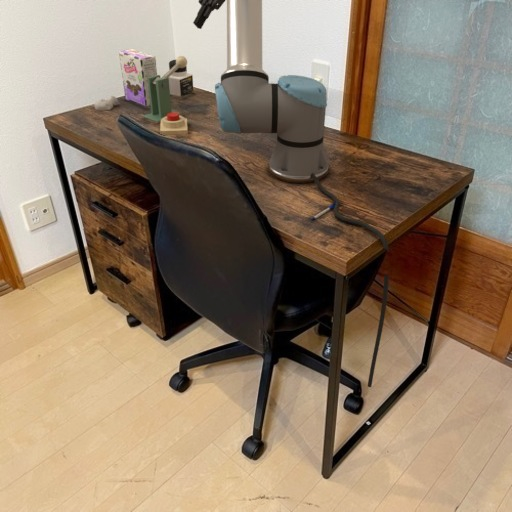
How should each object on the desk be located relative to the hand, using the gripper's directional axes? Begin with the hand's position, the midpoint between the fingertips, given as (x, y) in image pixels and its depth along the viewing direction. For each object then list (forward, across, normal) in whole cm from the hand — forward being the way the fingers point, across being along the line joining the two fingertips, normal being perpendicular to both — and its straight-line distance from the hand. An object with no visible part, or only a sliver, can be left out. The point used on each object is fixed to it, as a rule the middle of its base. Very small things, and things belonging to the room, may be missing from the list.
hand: (197, 25), depth 167 cm
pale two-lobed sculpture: (+36, +19, 0) cm, 40 cm away
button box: (+34, -12, -2) cm, 36 cm away
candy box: (+27, +17, -10) cm, 33 cm away
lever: (+18, 0, -1) cm, 18 cm away
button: (+31, -12, +1) cm, 34 cm away
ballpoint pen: (+41, -75, +5) cm, 86 cm away
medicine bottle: (+16, +14, -20) cm, 29 cm away
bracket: (+30, 0, -5) cm, 31 cm away
